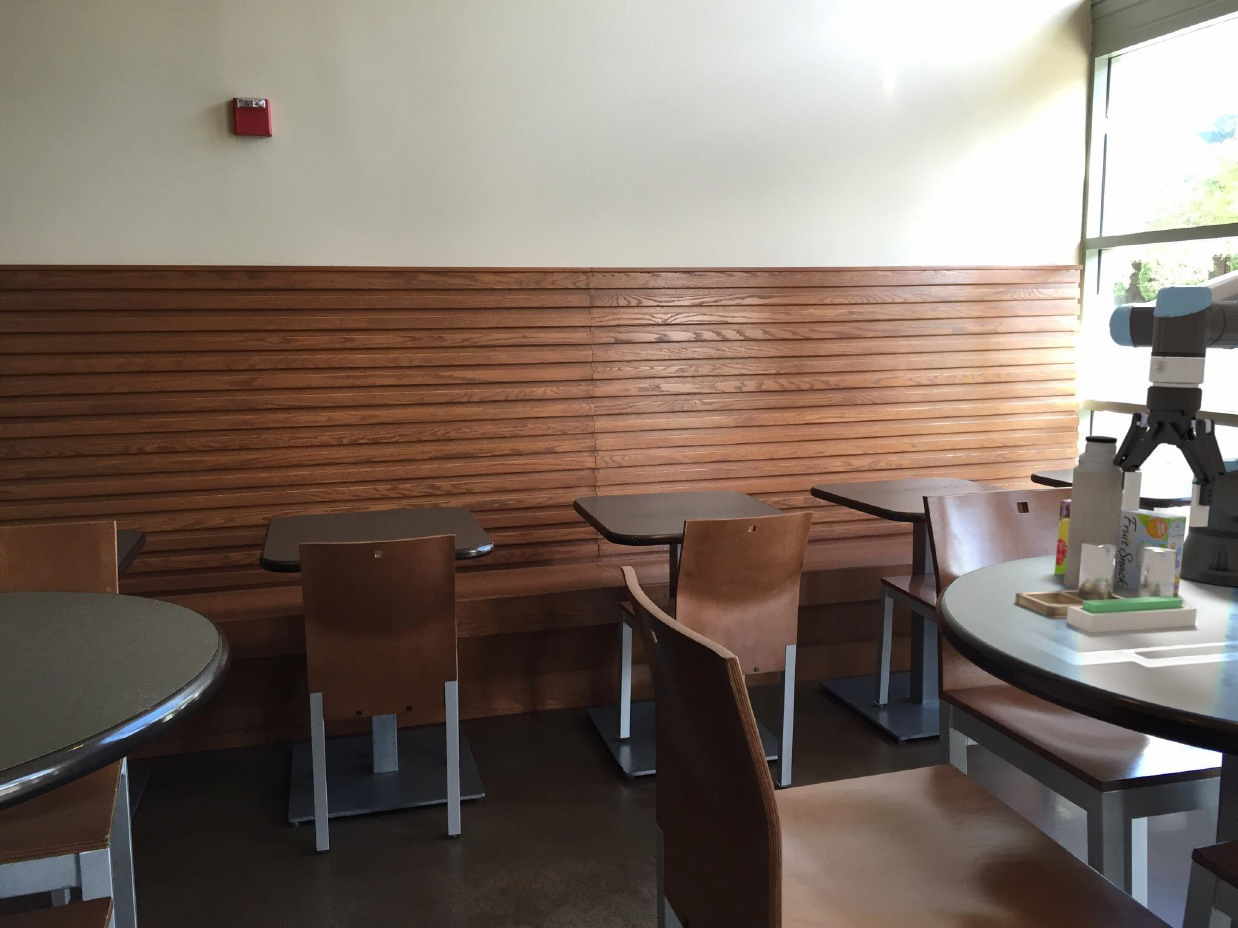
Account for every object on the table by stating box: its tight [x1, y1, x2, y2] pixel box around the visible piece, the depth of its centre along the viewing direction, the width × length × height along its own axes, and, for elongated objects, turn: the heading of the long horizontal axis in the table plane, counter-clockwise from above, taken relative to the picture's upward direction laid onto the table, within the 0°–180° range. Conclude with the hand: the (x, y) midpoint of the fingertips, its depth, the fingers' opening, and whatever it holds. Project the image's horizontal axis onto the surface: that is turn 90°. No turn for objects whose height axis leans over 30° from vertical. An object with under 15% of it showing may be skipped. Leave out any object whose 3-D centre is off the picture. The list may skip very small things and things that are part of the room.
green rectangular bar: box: [1082, 596, 1183, 613], centre depth 147 cm, size 16×2×4 cm, turn 105°
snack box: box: [1054, 498, 1187, 596], centre depth 174 cm, size 21×6×15 cm, turn 29°
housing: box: [1066, 603, 1197, 633], centre depth 147 cm, size 19×5×4 cm, turn 105°
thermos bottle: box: [1063, 435, 1124, 592], centre depth 169 cm, size 8×8×28 cm
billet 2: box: [1136, 547, 1177, 598], centre depth 156 cm, size 5×5×10 cm
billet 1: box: [1078, 542, 1117, 601], centre depth 157 cm, size 5×5×10 cm
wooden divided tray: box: [1012, 589, 1125, 619], centre depth 157 cm, size 16×10×3 cm, turn 105°
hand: (1162, 518), depth 155 cm, fingers open, 13 cm apart
